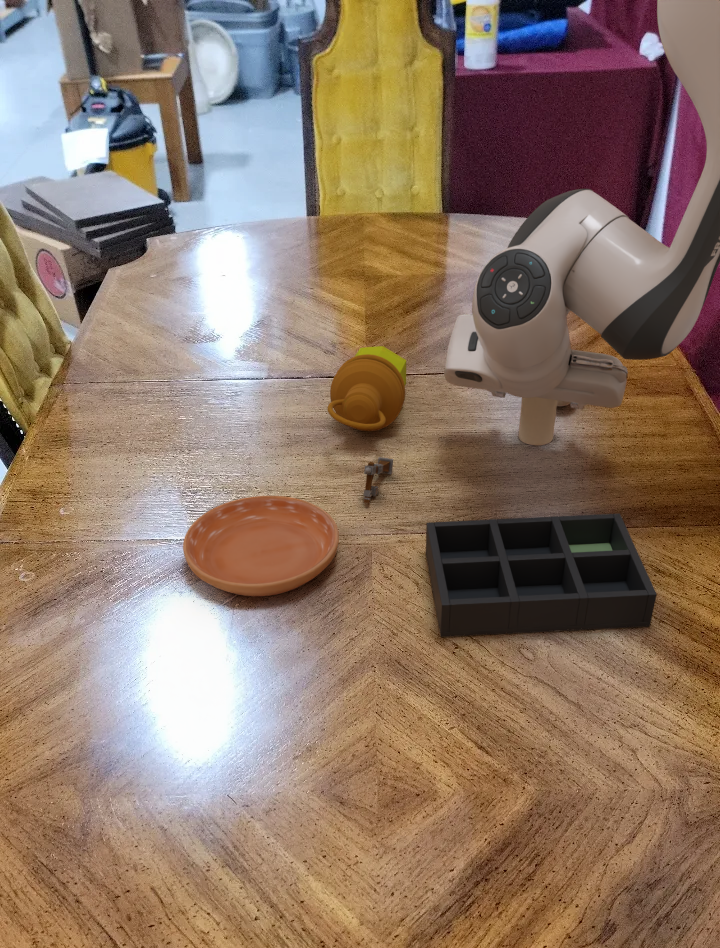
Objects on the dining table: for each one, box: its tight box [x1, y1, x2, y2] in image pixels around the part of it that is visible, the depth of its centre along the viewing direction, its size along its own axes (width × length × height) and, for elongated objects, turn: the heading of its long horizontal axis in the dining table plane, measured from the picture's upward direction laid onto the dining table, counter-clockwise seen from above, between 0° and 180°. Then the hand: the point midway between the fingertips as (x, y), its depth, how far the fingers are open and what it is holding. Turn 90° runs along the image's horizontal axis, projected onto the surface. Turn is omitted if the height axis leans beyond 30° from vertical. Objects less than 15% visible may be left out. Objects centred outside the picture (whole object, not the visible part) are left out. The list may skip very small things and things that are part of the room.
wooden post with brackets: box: [363, 456, 394, 504], centre depth 113 cm, size 2×8×4 cm, turn 163°
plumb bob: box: [327, 345, 407, 432], centre depth 123 cm, size 9×9×25 cm
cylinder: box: [518, 397, 558, 446], centre depth 119 cm, size 4×4×9 cm
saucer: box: [182, 495, 340, 597], centre depth 103 cm, size 16×16×3 cm
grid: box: [425, 512, 658, 638], centre depth 98 cm, size 20×14×4 cm
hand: (539, 396), depth 118 cm, fingers open, 8 cm apart
